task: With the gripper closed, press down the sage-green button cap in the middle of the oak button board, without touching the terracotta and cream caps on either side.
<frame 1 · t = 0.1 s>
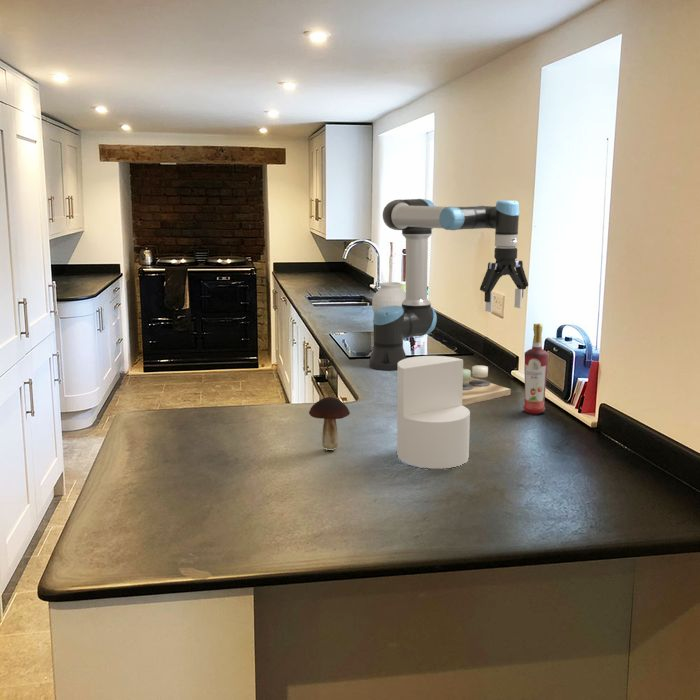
hand: (503, 309, 246), 28 cm above the worktop, fingers open, 13 cm apart
cream button: (479, 371, 250), point 7 cm above the worktop, slide at 0.0 cm
decorative mushroom: (329, 451, 194), on the worktop
terracotta button: (444, 378, 241), point 7 cm above the worktop, slide at 0.0 cm
vase: (390, 335, 345), on the worktop
sage button: (462, 374, 245), point 6 cm above the worktop, slide at 0.0 cm
button board: (462, 393, 247), on the worktop
cylinder: (432, 457, 189), on the worktop
liquor: (533, 412, 225), on the worktop
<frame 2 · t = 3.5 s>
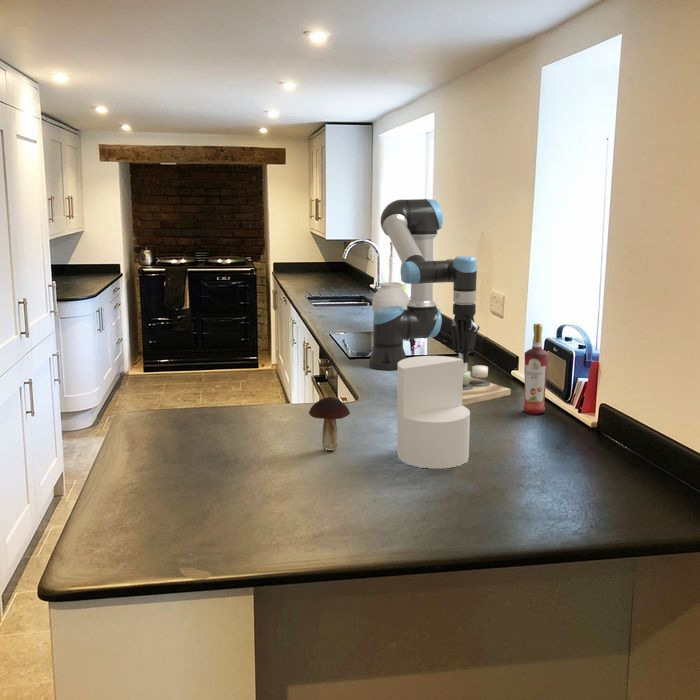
hand: (462, 371, 245), 8 cm above the worktop, fingers closed
sage button: (462, 376, 246), point 6 cm above the worktop, slide at 0.6 cm, touching gripper
everything else where it was.
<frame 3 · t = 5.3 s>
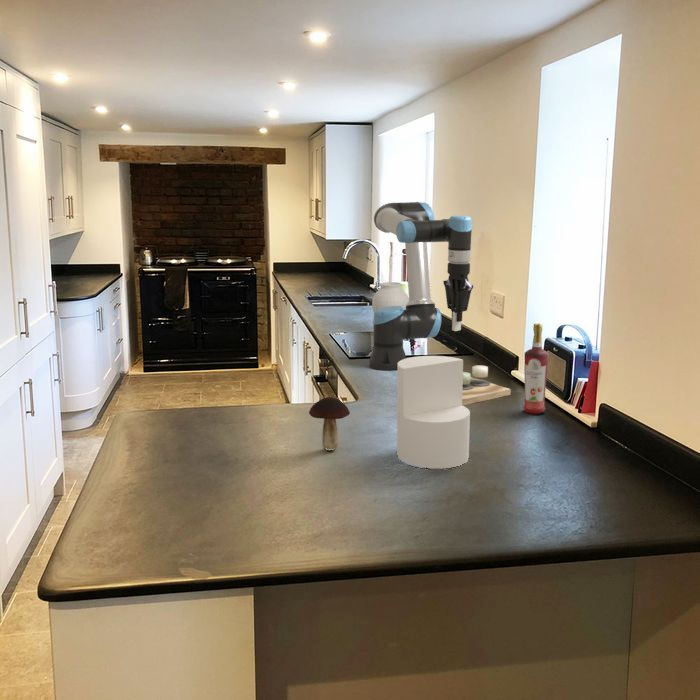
hand: (456, 330, 249), 21 cm above the worktop, fingers closed
sage button: (462, 378, 246), point 5 cm above the worktop, slide at 1.2 cm
everything else where it was.
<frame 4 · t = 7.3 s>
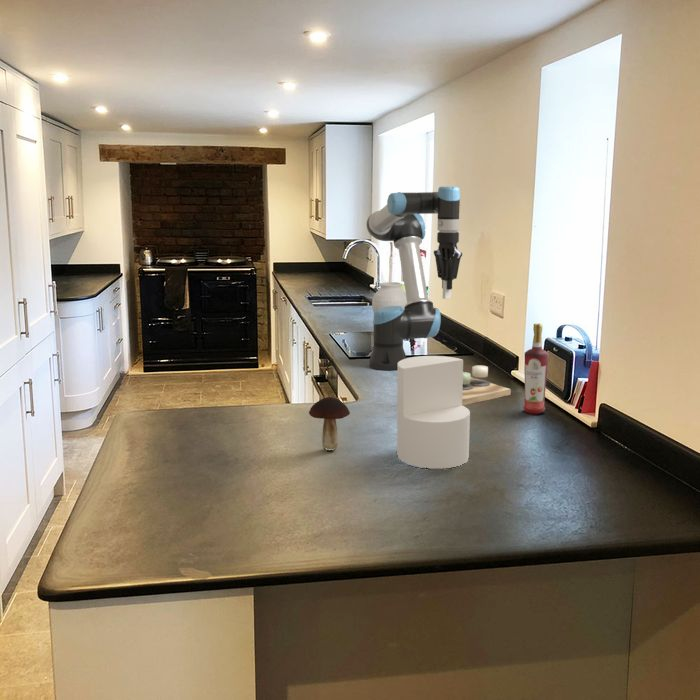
hand: (446, 298, 256), 30 cm above the worktop, fingers closed
nothing on the worktop moved.
at the end: sage button slide at 1.2 cm; terracotta button slide at 0.0 cm; cream button slide at 0.0 cm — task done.
